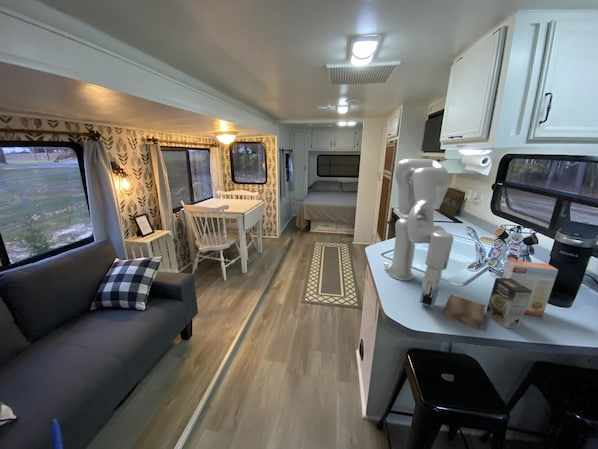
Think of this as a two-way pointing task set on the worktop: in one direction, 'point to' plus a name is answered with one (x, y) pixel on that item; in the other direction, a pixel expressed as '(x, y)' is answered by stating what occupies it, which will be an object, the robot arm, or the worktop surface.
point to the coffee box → (508, 302)
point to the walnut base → (465, 311)
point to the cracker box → (533, 282)
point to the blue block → (432, 296)
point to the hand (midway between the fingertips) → (428, 300)
